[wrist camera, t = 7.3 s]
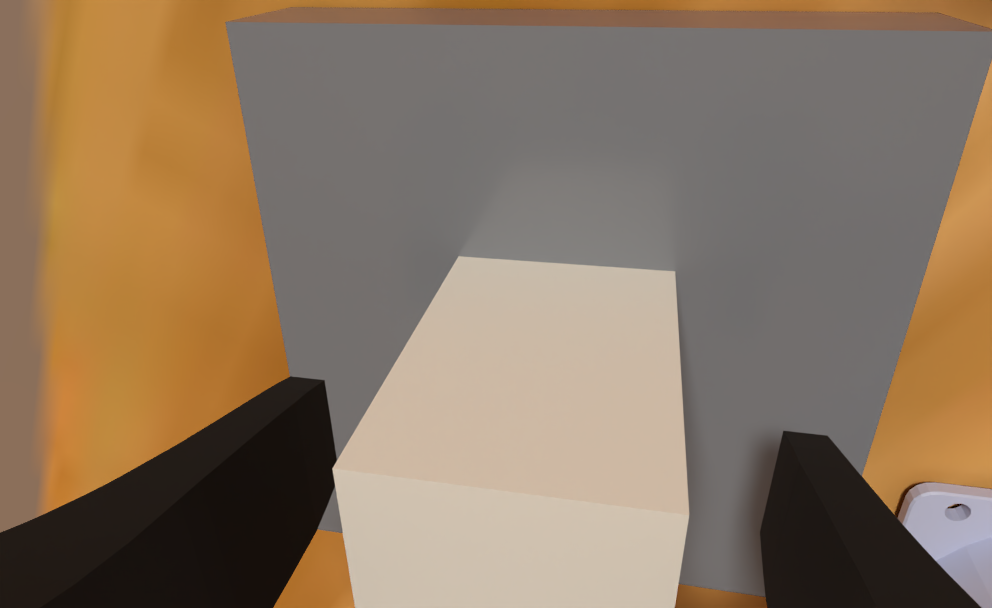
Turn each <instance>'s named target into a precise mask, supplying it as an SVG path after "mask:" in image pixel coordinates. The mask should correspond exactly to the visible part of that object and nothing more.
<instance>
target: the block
mask: <svg viewBox="0 0 992 608" xmlns="http://www.w3.org/2000/svg"><path fill="white" fill-rule="evenodd" d="M332 470H333V476H334V482H335V488H336V494H337V500H338V506H339V512H340V518H341V524H342V530H343V536H344V543H345V549H346V555H347V561H348V567H349V573H350V579H351V585H352V591H353V597H354V603H355V608H675V603H676V596H677V590H678V584H679V577H680V571H681V565H682V558H683V552H684V546H685V539H686V533H687V527H688V520H689V501H688V484H687V467H686V449H685V432H684V415H683V398H682V380H681V363H680V346H679V328H678V311H677V294H676V277H675V271H662V270H648V269H633V268H619V267H605V266H591V265H576V264H562V263H548V262H533V261H519V260H505V259H491V258H476V257H462V256H458V258H457V260H456V262H455V263H454V265H453V267H452V268H451V270H450V272H449V273H448V275H447V277H446V278H445V280H444V282H443V283H442V285H441V287H440V288H439V290H438V292H437V293H436V295H435V297H434V298H433V300H432V302H431V304H430V305H429V307H428V309H427V310H426V312H425V314H424V315H423V317H422V319H421V320H420V322H419V324H418V325H417V327H416V329H415V330H414V332H413V334H412V335H411V337H410V339H409V340H408V342H407V344H406V346H405V347H404V349H403V351H402V352H401V354H400V356H399V357H398V359H397V361H396V362H395V364H394V366H393V367H392V369H391V371H390V372H389V374H388V376H387V377H386V379H385V381H384V383H383V384H382V386H381V388H380V389H379V391H378V393H377V394H376V396H375V398H374V399H373V401H372V403H371V404H370V406H369V408H368V409H367V411H366V413H365V414H364V416H363V418H362V419H361V421H360V423H359V425H358V426H357V428H356V430H355V431H354V433H353V435H352V436H351V438H350V440H349V441H348V443H347V445H346V446H345V448H344V450H343V451H342V453H341V455H340V456H339V458H338V460H337V462H336V463H335V465H334V467H333V468H332Z"/></svg>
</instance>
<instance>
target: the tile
mask: <svg viewBox="0 0 992 608" xmlns="http://www.w3.org/2000/svg"><path fill="white" fill-rule="evenodd" d="M226 27H227V33H228V38H229V44H230V49H231V55H232V60H233V66H234V71H235V77H236V82H237V88H238V93H239V99H240V104H241V110H242V115H243V120H244V126H245V131H246V137H247V142H248V148H249V153H250V159H251V164H252V170H253V175H254V181H255V186H256V192H257V197H258V203H259V208H260V214H261V219H262V225H263V230H264V236H265V241H266V247H267V252H268V258H269V263H270V269H271V274H272V280H273V285H274V291H275V296H276V302H277V307H278V313H279V318H280V324H281V329H282V335H283V340H284V345H285V351H286V356H287V362H288V367H289V373H290V376H292V377H301V378H310V379H319V380H325V386H326V392H327V398H328V405H329V411H330V418H331V424H332V431H333V437H334V444H335V450H336V457H337V460H338V458H339V456H340V455H341V453H342V451H343V450H344V448H345V446H346V445H347V443H348V441H349V440H350V438H351V436H352V435H353V433H354V431H355V430H356V428H357V426H358V425H359V423H360V421H361V419H362V418H363V416H364V414H365V413H366V411H367V409H368V408H369V406H370V404H371V403H372V401H373V399H374V398H375V396H376V394H377V393H378V391H379V389H380V388H381V386H382V384H383V383H384V381H385V379H386V377H387V376H388V374H389V372H390V371H391V369H392V367H393V366H394V364H395V362H396V361H397V359H398V357H399V356H400V354H401V352H402V351H403V349H404V347H405V346H406V344H407V342H408V340H409V339H410V337H411V335H412V334H413V332H414V330H415V329H416V327H417V325H418V324H419V322H420V320H421V319H422V317H423V315H424V314H425V312H426V310H427V309H428V307H429V305H430V304H431V302H432V300H433V298H434V297H435V295H436V293H437V292H438V290H439V288H440V287H441V285H442V283H443V282H444V280H445V278H446V277H447V275H448V273H449V272H450V270H451V268H452V267H453V265H454V263H455V262H456V260H457V258H458V256H462V257H476V258H491V259H505V260H519V261H533V262H548V263H562V264H576V265H591V266H605V267H619V268H633V269H648V270H662V271H675V277H676V294H677V311H678V328H679V346H680V363H681V380H682V398H683V415H684V432H685V449H686V467H687V484H688V501H689V520H688V527H687V533H686V539H685V546H684V552H683V558H682V565H681V571H680V577H679V584H683V585H689V586H696V587H703V588H709V589H716V590H722V591H729V592H736V593H742V594H749V595H755V596H762V597H765V587H764V577H763V566H762V554H761V541H760V529H761V525H762V520H763V516H764V512H765V507H766V503H767V499H768V495H769V490H770V486H771V482H772V477H773V473H774V469H775V464H776V460H777V456H778V451H779V447H780V443H781V439H782V434H783V431H791V432H800V433H809V434H818V435H827V436H828V437H829V438H830V439H831V440H832V441H833V443H834V444H835V445H836V446H837V447H838V448H839V450H840V451H841V452H842V453H843V454H844V456H845V457H846V458H847V459H848V460H849V462H850V463H851V464H852V465H853V466H854V468H855V469H856V470H857V471H858V472H859V474H860V475H861V476H862V474H863V470H864V467H865V464H866V461H867V458H868V454H869V451H870V448H871V445H872V442H873V438H874V435H875V432H876V429H877V425H878V422H879V419H880V416H881V413H882V409H883V406H884V403H885V400H886V397H887V393H888V390H889V387H890V384H891V381H892V377H893V374H894V371H895V368H896V365H897V361H898V358H899V355H900V352H901V349H902V345H903V342H904V339H905V336H906V332H907V329H908V326H909V323H910V320H911V316H912V313H913V310H914V307H915V304H916V300H917V297H918V294H919V291H920V288H921V284H922V281H923V278H924V275H925V272H926V268H927V265H928V262H929V259H930V255H931V252H932V249H933V246H934V243H935V239H936V236H937V233H938V230H939V227H940V223H941V220H942V217H943V214H944V211H945V207H946V204H947V201H948V198H949V195H950V191H951V188H952V185H953V182H954V178H955V175H956V172H957V169H958V166H959V162H960V159H961V156H962V153H963V150H964V146H965V143H966V140H967V137H968V134H969V130H970V127H971V124H972V121H973V118H974V114H975V111H976V108H977V105H978V102H979V98H980V95H981V92H982V89H983V85H984V82H985V79H986V76H987V73H988V69H989V66H990V63H991V60H992V29H990V28H986V27H983V26H980V25H977V24H973V23H970V22H967V21H963V20H960V19H957V18H954V17H950V16H947V15H944V14H941V13H907V12H789V11H670V10H551V9H433V8H314V7H290V8H286V9H281V10H277V11H272V12H268V13H263V14H259V15H254V16H250V17H245V18H241V19H236V20H232V21H228V22H226ZM318 529H319V530H326V531H332V532H339V533H343V530H342V524H341V518H340V512H339V506H338V500H337V494H336V488H334V490H333V493H332V495H331V498H330V500H329V503H328V505H327V508H326V510H325V513H324V515H323V517H322V520H321V522H320V524H319V527H318Z"/></svg>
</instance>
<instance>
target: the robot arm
mask: <svg viewBox="0 0 992 608" xmlns="http://www.w3.org/2000/svg"><path fill="white" fill-rule="evenodd" d="M336 462H337V457H336V450H335V444H334V437H333V431H332V424H331V418H330V411H329V405H328V398H327V392H326V386H325V380H319V379H310V378H301V377H292V376H290V377H289V378H287V379H285V380H283V381H281V382H279V383H277V384H276V385H274V386H272V387H271V388H269V389H267V390H266V391H264V392H262V393H261V394H259V395H257V396H256V397H254V398H252V399H251V400H249V401H248V402H246V403H244V404H243V405H241V406H240V407H238V408H236V409H235V410H233V411H232V412H230V413H228V414H227V415H225V416H223V417H222V418H220V419H219V420H217V421H215V422H214V423H212V424H210V425H209V426H207V427H205V428H204V429H202V430H201V431H199V432H197V433H196V434H194V435H192V436H191V437H189V438H188V439H186V440H184V441H183V442H181V443H179V444H178V445H176V446H174V447H172V448H170V449H169V450H167V451H165V452H163V453H162V454H160V455H158V456H156V457H154V458H153V459H151V460H149V461H147V462H146V463H144V464H142V465H140V466H138V467H137V468H135V469H133V470H131V471H130V472H128V473H126V474H124V475H123V476H121V477H119V478H117V479H115V480H113V481H111V482H109V483H108V484H106V485H104V486H102V487H100V488H98V489H96V490H94V491H92V492H90V493H88V494H86V495H84V496H82V497H80V498H78V499H76V500H73V501H71V502H69V503H67V504H65V505H63V506H61V507H59V508H56V509H54V510H52V511H50V512H48V513H46V514H44V515H41V516H39V517H37V518H35V519H32V520H30V521H28V522H26V523H23V524H21V525H18V526H16V527H13V528H11V529H9V530H6V531H3V532H1V533H0V608H273V607H274V605H275V603H276V602H277V600H278V598H279V596H280V595H281V593H282V591H283V589H284V588H285V586H286V584H287V583H288V581H289V579H290V577H291V576H292V574H293V572H294V570H295V569H296V567H297V565H298V563H299V561H300V560H301V558H302V556H303V554H304V553H305V551H306V549H307V547H308V545H309V544H310V542H311V540H312V538H313V536H314V535H315V533H316V531H317V529H318V527H319V524H320V522H321V520H322V517H323V515H324V513H325V510H326V508H327V505H328V503H329V500H330V498H331V495H332V493H333V490H334V488H335V482H334V476H333V470H332V468H333V467H334V465H335V463H336ZM953 504H962V505H961V506H959V507H956V508H949V509H948V507H949V506H951V505H953ZM760 541H761V554H762V566H763V577H764V587H765V597H766V602H767V607H768V608H992V489H986V488H977V487H969V486H961V485H952V484H944V483H935V482H933V483H922V484H919V485H916V486H915V487H913V488H912V489H910V490H909V491H908V493H907V494H906V496H905V499H904V502H903V504H902V507H901V510H900V513H899V516H898V518H897V517H896V516H895V515H894V514H893V513H892V512H891V510H890V509H889V508H888V507H887V506H886V505H885V503H884V502H883V501H882V500H881V499H880V498H879V496H878V495H877V494H876V493H875V492H874V490H873V489H872V488H871V487H870V486H869V485H868V483H867V482H866V481H865V480H864V478H863V477H862V476H861V475H860V474H859V472H858V471H857V470H856V469H855V468H854V466H853V465H852V464H851V463H850V462H849V460H848V459H847V458H846V457H845V456H844V454H843V453H842V452H841V451H840V450H839V448H838V447H837V446H836V445H835V444H834V443H833V441H832V440H831V439H830V438H829V437H828V436H827V435H818V434H809V433H800V432H791V431H783V434H782V439H781V443H780V447H779V451H778V456H777V460H776V464H775V469H774V473H773V477H772V482H771V486H770V490H769V495H768V499H767V503H766V507H765V512H764V516H763V520H762V525H761V529H760Z"/></svg>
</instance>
